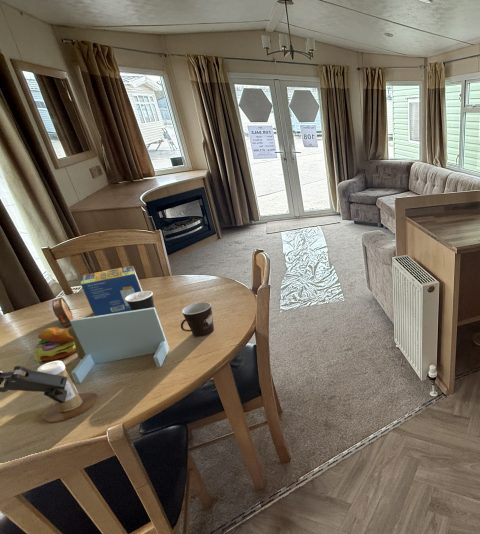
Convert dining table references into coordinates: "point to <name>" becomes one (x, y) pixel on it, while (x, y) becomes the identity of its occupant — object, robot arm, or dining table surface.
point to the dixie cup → (140, 300)
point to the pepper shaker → (77, 343)
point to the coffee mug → (198, 318)
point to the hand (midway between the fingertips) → (22, 405)
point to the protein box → (110, 290)
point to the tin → (62, 311)
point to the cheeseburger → (54, 344)
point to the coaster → (57, 416)
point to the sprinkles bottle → (72, 393)
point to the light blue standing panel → (119, 338)
